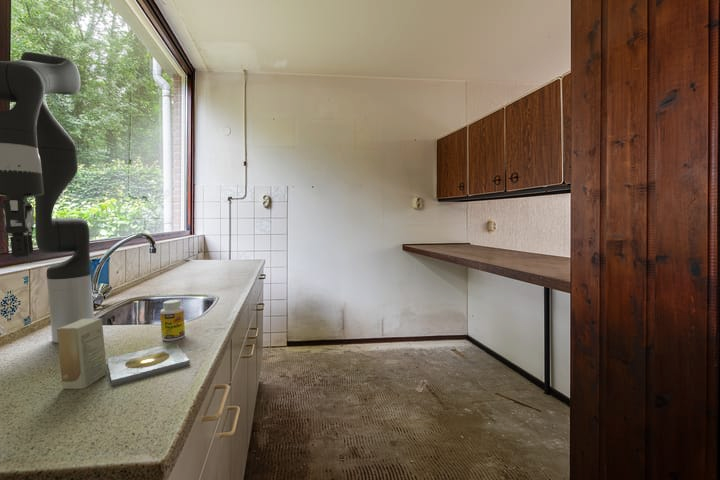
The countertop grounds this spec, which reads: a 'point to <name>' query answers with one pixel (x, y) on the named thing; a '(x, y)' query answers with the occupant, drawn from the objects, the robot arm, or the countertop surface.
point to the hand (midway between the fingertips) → (23, 254)
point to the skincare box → (81, 353)
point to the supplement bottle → (172, 321)
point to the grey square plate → (146, 363)
